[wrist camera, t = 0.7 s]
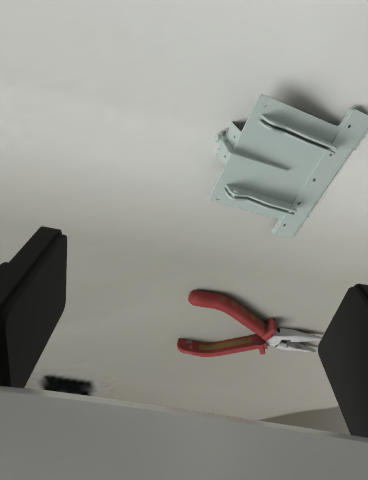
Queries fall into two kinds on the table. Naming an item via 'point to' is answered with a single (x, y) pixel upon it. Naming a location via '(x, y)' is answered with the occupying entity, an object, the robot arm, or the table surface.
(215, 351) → the pliers
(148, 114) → the table surface
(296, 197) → the metal bracket
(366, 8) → the table surface
